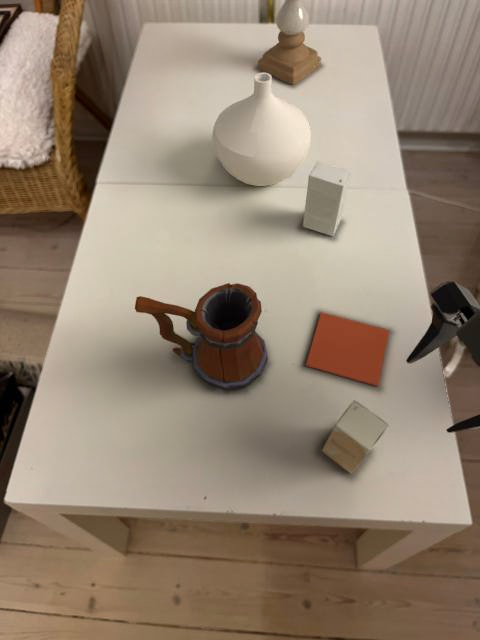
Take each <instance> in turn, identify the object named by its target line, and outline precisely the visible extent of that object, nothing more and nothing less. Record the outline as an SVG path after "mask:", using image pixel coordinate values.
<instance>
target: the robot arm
mask: <svg viewBox="0 0 480 640" xmlns="http://www.w3.org/2000/svg"><path fill="white" fill-rule="evenodd" d="M429 293H430V294H429V295H430V296H431V298H432V299H433V301H434V302H432V303H431V305H430V309H431V310H432V317H431V322H430V324H429V326H428V327H427V330H426V331H425V333H424V334H423V336H422V337H421V339H420V340H419V341H418V343H417V344H416V345H415V347H414V349H413V350H412V351H411V352H410V354H409V355H408V356H407V358H406V359H405V361H406V363H407V364H413V363H415V362H417V361H418V362H419V361H420V360H421V359H423V358H425V357H427V356H428V355H430V354H432V353H433V352H434V351H436V350H437V349H438V348H440V347H442V346H443V345H444V344H446V343H448V342H449V341H451V340H452V339H454V338H456V337H457V339H458V340H459V341H460V342H462V343H463V344H464V345H465V347H466V349H467V350H468V352H469V354H471V359H472V361H473V362H474V364H475V365H476V366H477V367H478V368H480V304H479V302H478V301H477V299H476V298H475V297H474V295H473V294H472V292H471V291H470V290H469V289H468V288H466V287H465V286H463V285H461V284H459V283H457V282H456V281H449V280H448V281H445V282H441V283H440V284H439V285H437V286H436V287H435V288H433V289H431V290H430V291H429ZM478 429H480V413H478V414H477V415H474V416H472V417H469V418H467V419H464V420H462V421H459V422H456V423H455V424H453V425H451V426H449V427H448V428H446V429H445V430H446V432H447V433H449V434H453V433H459V432H465V431H470V430H471V431H472V430H478Z"/></svg>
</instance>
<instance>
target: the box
mask: <svg viewBox="0 0 480 640" xmlns="http://www.w3.org/2000/svg"><path fill="white" fill-rule="evenodd" d="M389 426H390V425H389V423H388V422H387V421H386V420H384V419H383V418H381V417H380V416H379V415H378V414H376V413H375V412H373V411H371V410H370V409H369V408H367V407H366V406H364V405H363V404H362V403H360V402H359V401H357V400H356V399H353V400H352V401H351V402H350V404H349V405H348V406H347V407H346V409H345V410H344V411H343V413H342V414H341V416H340V417H339V418H338V420H337V421H336V423H335V425H334V427H333V428H332V430H331V432H330V434H329V436H328V438H327V440H326V442H325V444H324V446H323V447H322V449H321V451H322V453H323V454H325V455H326V456H327V457H328V458H330V459H331V460H332V461H333V462H335V463H336V464H337V465H339V466H340V467H341V468H343V469H344V470H345V471H346V472H347V473H349V474H353V473H354V472H355V471H356V469H357V468H358V467H359V465H360V464H361V463H362V461H364V459H365V458H366V457H367V455H368V454H370V452H371V450H372V449H373V448H374V446H375V445H376V444H377V443H378V441H379V440H380V439H381V438H382V436H383V435H384V433H385V432H386V431H387V429H388V428H389Z"/></svg>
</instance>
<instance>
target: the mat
mask: <svg viewBox="0 0 480 640" xmlns="http://www.w3.org/2000/svg"><path fill="white" fill-rule="evenodd" d="M389 334H390V330H389V329H386V328H383V327H379V326H375V325H371V324H367V323H364V322H359V321H356V320H352V319H349V318H345V317H341V316H337V315H333V314H329V313H326V312H322V311H321V312H320V315H319V318H318V321H317V325H316V329H315V332H314V335H313V339H312V341H311V346H310V349H309V352H308V355H307V358H306V363H305V367H307V368H311V369H314V370H319V371H322V372H325V373H328V374H333V375H336V376H339V377H342V378H346V379H349V380H354V381H357V382H360V383H364V384H367V385H371V386H374V387H379V384H380V379H381V374H382V371H383V370H382V369H383V364H384V360H385V354H386V349H387V344H388V338H389Z"/></svg>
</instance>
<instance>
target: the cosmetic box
mask: <svg viewBox="0 0 480 640" xmlns="http://www.w3.org/2000/svg"><path fill="white" fill-rule="evenodd" d="M351 172H352V170H351V169H348V168H344V167H340V166H337V165H333V164H329V163H326V162H323V161H319V160H317V161H316V163H315V165H314V166H313V168H312V169H311V171H310V172H309V174H308V178H307V179H308V180H307V188H306V197H305V205H304V211H303V220H302V221H303V222H302V227H303V228H305V229H308V230H311V231H315V232H318V233H321V234H325V235H327V236H331V237H334V235H335V233H336V231H337V229H338V228H339V225H340V223H341V219H342V214H343V211H344V206H345V202H346V196H347V191H348V186H349V182H350V177H351Z"/></svg>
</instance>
